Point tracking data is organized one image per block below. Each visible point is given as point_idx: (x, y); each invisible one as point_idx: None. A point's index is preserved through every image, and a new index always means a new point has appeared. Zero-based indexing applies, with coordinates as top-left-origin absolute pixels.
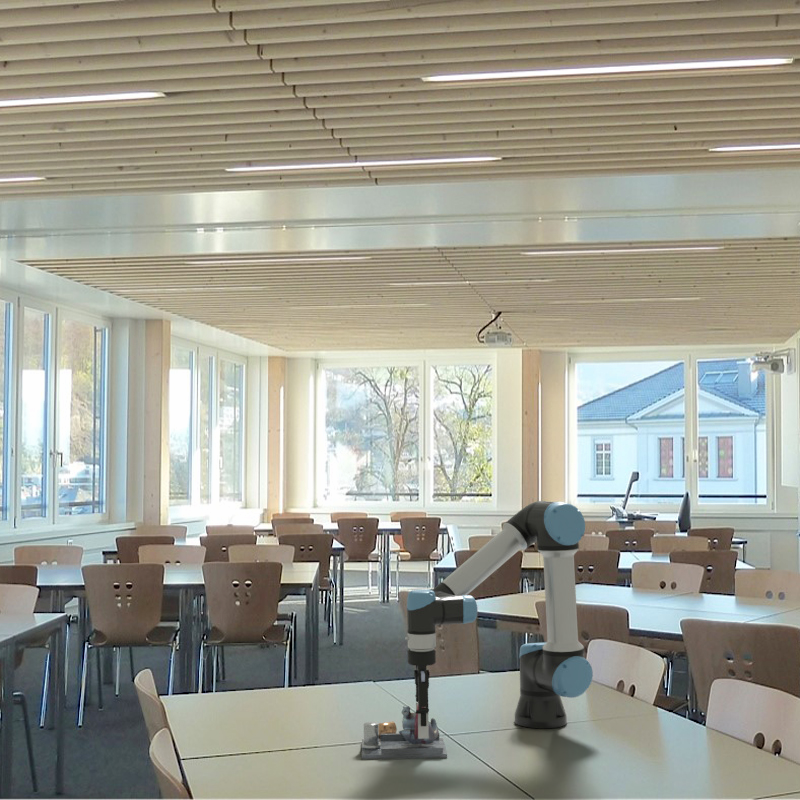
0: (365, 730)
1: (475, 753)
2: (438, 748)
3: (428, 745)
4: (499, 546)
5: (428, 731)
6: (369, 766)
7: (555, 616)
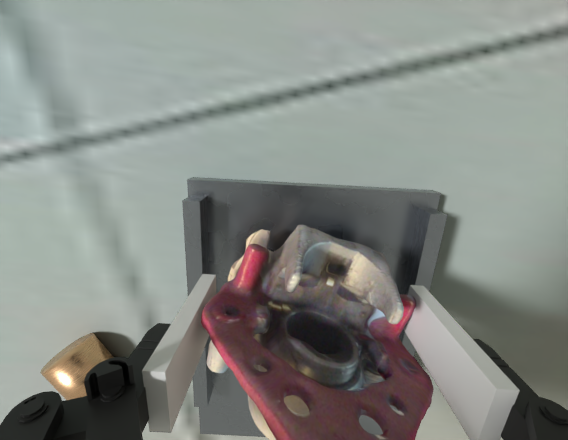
0: None
1: (392, 55)
2: (441, 233)
3: None
4: None
5: (441, 305)
6: None
7: None
